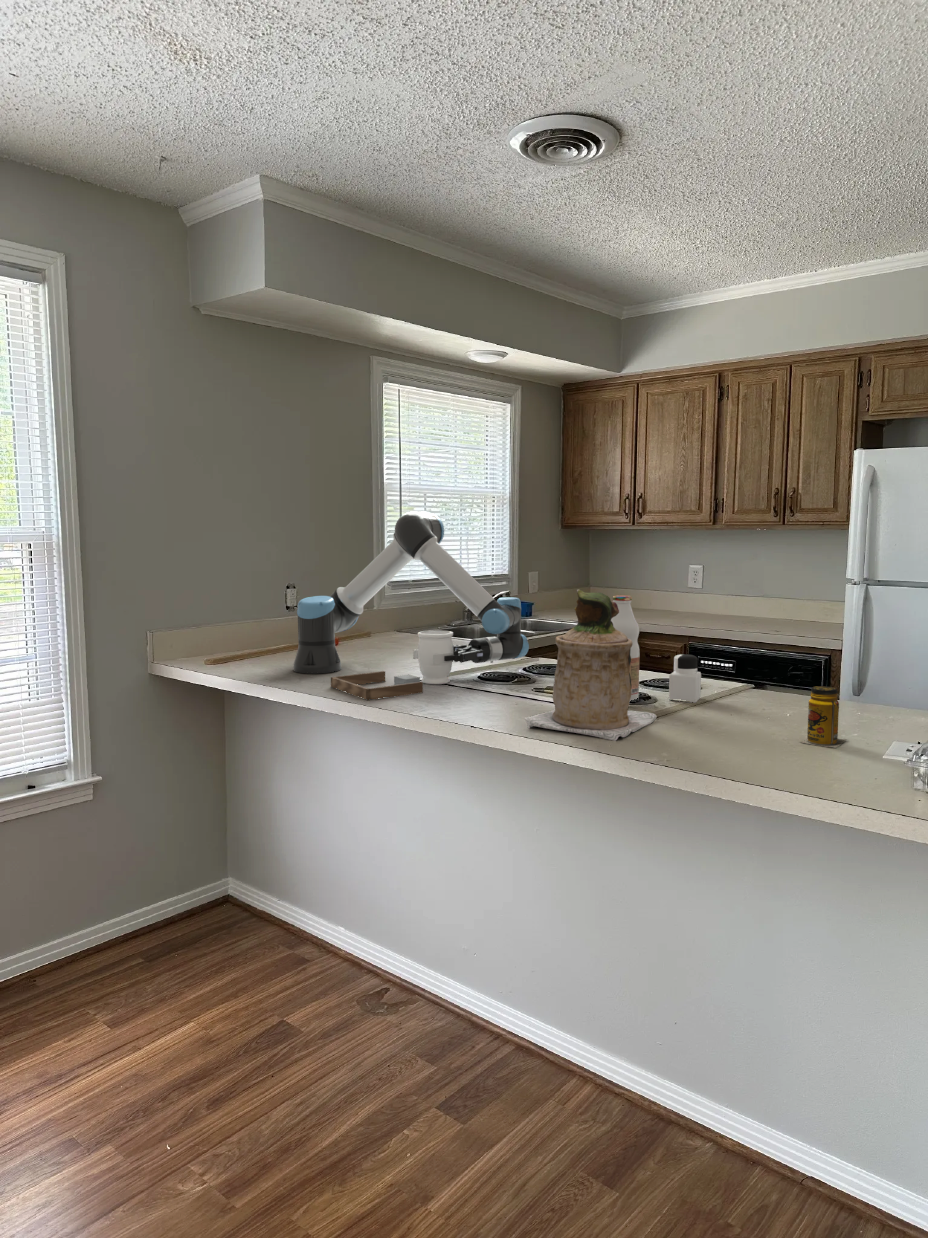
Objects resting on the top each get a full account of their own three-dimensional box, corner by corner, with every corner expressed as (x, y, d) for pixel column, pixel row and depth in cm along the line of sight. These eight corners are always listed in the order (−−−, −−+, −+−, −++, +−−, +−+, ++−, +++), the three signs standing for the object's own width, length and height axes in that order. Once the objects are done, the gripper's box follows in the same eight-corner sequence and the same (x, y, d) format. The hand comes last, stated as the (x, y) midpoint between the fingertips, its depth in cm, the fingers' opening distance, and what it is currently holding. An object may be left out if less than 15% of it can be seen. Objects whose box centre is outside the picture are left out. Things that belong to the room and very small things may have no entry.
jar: (455, 679, 259) (455, 630, 257) (451, 685, 249) (451, 634, 247) (420, 678, 260) (420, 629, 258) (415, 685, 250) (414, 634, 248)
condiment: (800, 743, 184) (802, 688, 183) (813, 735, 190) (815, 682, 189) (835, 749, 179) (838, 692, 178) (847, 741, 186) (850, 686, 184)
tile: (394, 686, 250) (394, 676, 249) (408, 684, 253) (408, 674, 252) (405, 689, 245) (405, 679, 244) (419, 687, 248) (419, 677, 247)
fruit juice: (606, 704, 223) (608, 597, 219) (599, 697, 232) (601, 594, 229) (642, 704, 223) (644, 597, 220) (633, 696, 232) (635, 594, 229)
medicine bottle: (700, 698, 230) (701, 654, 229) (695, 703, 224) (697, 658, 223) (673, 695, 233) (675, 652, 232) (668, 700, 227) (669, 656, 226)
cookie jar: (621, 743, 185) (623, 595, 181) (521, 728, 198) (521, 591, 194) (659, 720, 206) (662, 587, 202) (566, 708, 219) (567, 583, 215)
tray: (331, 687, 247) (330, 677, 246) (383, 680, 257) (383, 670, 256) (367, 700, 229) (367, 689, 229) (422, 692, 239) (422, 682, 239)
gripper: (506, 667, 255) (445, 675, 242) (463, 657, 273) (403, 664, 261) (507, 642, 254) (445, 648, 241) (462, 634, 273) (403, 639, 260)
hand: (423, 656), depth 251 cm, fingers closed on jar, 10 cm apart
